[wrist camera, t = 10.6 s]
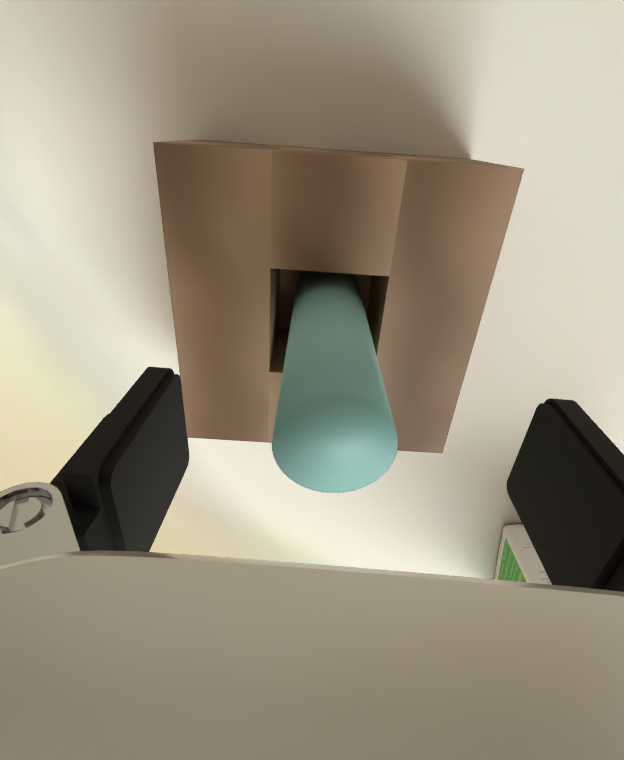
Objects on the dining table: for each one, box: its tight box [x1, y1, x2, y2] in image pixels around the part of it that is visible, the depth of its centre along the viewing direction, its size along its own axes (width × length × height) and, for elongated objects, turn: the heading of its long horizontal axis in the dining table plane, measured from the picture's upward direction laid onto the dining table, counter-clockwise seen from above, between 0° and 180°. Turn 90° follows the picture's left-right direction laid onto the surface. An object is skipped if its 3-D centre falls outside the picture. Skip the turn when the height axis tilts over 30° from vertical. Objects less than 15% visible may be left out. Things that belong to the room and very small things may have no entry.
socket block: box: [153, 140, 524, 453], centre depth 19 cm, size 12×12×6 cm
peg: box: [272, 271, 398, 493], centre depth 15 cm, size 3×3×12 cm
